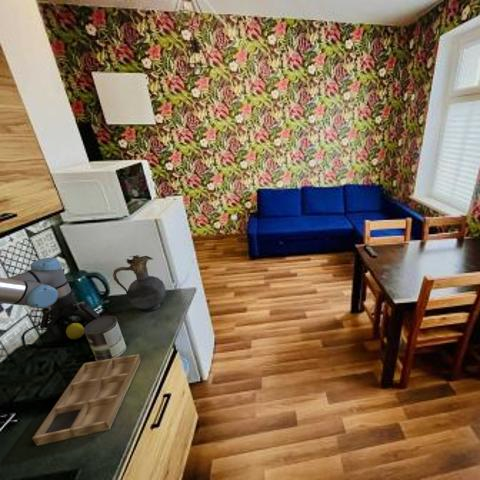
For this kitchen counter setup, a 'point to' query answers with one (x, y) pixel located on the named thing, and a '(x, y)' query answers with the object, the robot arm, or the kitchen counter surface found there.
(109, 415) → the wooden compartment tray
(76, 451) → the kitchen counter surface
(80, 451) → the kitchen counter surface
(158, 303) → the pitcher
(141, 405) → the kitchen counter surface
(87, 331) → the coffee can
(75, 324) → the lemon
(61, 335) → the robot arm
